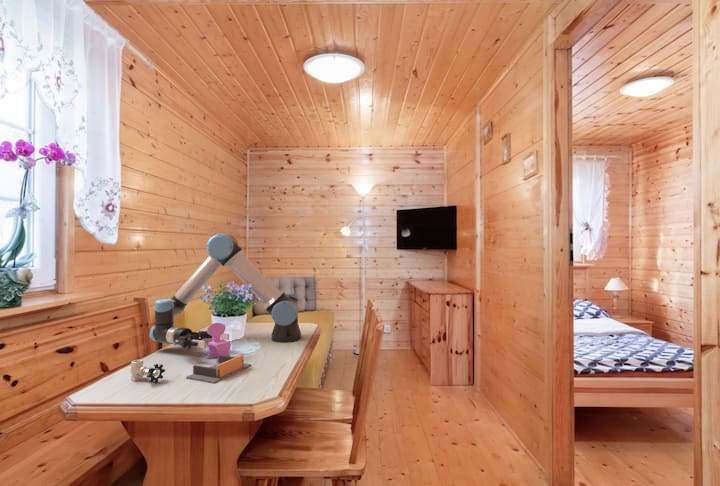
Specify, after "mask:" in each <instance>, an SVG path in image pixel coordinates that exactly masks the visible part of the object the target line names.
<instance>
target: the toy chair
mask: <svg viewBox="0 0 720 486" xmlns="http://www.w3.org/2000/svg"><path fill="white" fill-rule="evenodd" d="M226 328H227V326H226V325H225V324H224V323H221V322H214V323H211V324H210V325H209V326H208V327H207V329H206V331H207V333H208V334H209V335H211V336H212V338H211V339H212V341H208V343H207V348H208V354H207V356H206V360H209V359H212V358H216V357H217V359H216V360H217V361H216V363H217V364H218V363H219V356H220V355H221V356H228V357H231V355H230V352H231V351H230V350H231V347H232V345H231V341H229V340H224V339H220V336H221V335H222V334H223V333H225V331H226Z"/></svg>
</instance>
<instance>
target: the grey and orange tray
mask: <svg viewBox="0 0 720 486" xmlns="http://www.w3.org/2000/svg"><path fill="white" fill-rule="evenodd" d="M218 358H219V362H218V363H217V364H214V365H212V366H209V367H208V366H203V365H198V364H197V365H196V364H194V365H192V366H193V367H192V368H193V369H192V371H193V373H192V374H190V375H187V376H185V378H186V379H187V380H193V381H197V382H198V381H199V382H204V383H210V384H216V383H218V382H220V381H222V380H224V379H226V378H229V377H231V376H233V375H235V374H237V373H240V372H241V371H243V370H246V369H247V368H249V367H251V366H252V363H251V364H250V363H247V362H246V363H245V362H244V361H245V360H244V354H239V355H238V356H236V357H235V356H234V357H233V356H230V357H228V356H221V355H220V356H218Z"/></svg>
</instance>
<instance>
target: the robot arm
mask: <svg viewBox="0 0 720 486" xmlns="http://www.w3.org/2000/svg"><path fill="white" fill-rule="evenodd" d="M206 252H207V253H208V256H207V258H206V259H205V260H204V261H203V262H202V263H201V264H200V265H199V266H198V268H197V269H196V270H195V271H194V272H193V273H192V274H191V275H190V277H189V278H188V279H187V280H186V281H185V283H183V285H182V286H180V288H179V289H177V291H176V293H174V295H173V296H172V297H171V298H161V299H157V300H156V301H155V302H154V326H152V327H151V329H150V332H149V335H148V336H149V338H150V340H152V341H154V342H155V343H156V342H157V343H164V344H170V345H172V344H173V345H174V346H177V345H178V346H180V347H182V348H184V349H185V348H187V349H192V347H193V348H198V349H199V348H200V349H205V348H206V341H205V340H206V339H207V340H208V339H213V338H212V336H211V335H209V334H208V333H207V330H205V331H204V330H203V331H202V330H199V331H192V329H191V328H189V327H180V326H174V323H175V322H174V321H175V319H174V317H176V316H177V315H179V314H181V313H182V312H183V311H184V310H185V309H186V306H187V305H188V304H189V303H190V302H191V301H192V299H193V298H194V297H195V296H196V295H197V294H198V293H199V291H200V290H201V289H202V288H203V287H204V286H205V285H206V283H207V282H209V280H210V279H211V278H212V277H213V276H214V275H215V273H216V272H217V271H218V270H219V269H220V268H221V267H222V266H223V268H229V269H230V270H231V272H233V273H234V274H235V276H237V278H239V280H240V281H241V282H243V284H245V285H246V284H254V285H253V287H252V290H251V292H252V293H253V294H255V296H256V297H257V298H258V299H259V300H260V301H261V302H262V303H263V304H264V310H265V311H266V312H267V313H268V314H269V315H270V316H271V318H272V320H273V322H274V326H273V329H272V332H271V340H272V342H277V343H290V342H296V341H299V340H301V339H302V332H301V328H300V326H299V321H298V320H299V316H298V315H299V298H298V294H297V293H285V291H279V290H278V289H277V288H276V287H275V286H274V285H273V284H272V283H271V282H270V281H269V280H268V279H267V278H266V276H264V275H263V274H262V273H261V272H260V271H259V270H258V268H257V267H256V266H255V265H254V264H252V262H251V261H250V260H249V259H248V258H247V257H246V256H245V255H244V249H243V248H242V247H241V246H240V245H239V243H238V240H237V239H236V238H235V237H234V236H232V235H230V234H226V233H217V234H215V235H213V236H211V237H210V238H209V239H208V241H207V243H206ZM202 286H203V287H202ZM221 339H224V340H226V341H229V340H230V334H229V333H227V332H224V333H223V334H222V335H221V336H220V340H221Z"/></svg>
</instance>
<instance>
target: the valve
mask: <svg viewBox="0 0 720 486" xmlns="http://www.w3.org/2000/svg"><path fill="white" fill-rule="evenodd" d="M153 366H154V367H149V369H148V367H147V366H144V360H143V359H134V360H132V361H131V362H130V367H131V368H130V370H129V371H130V381H132V382H133V381H140V380H143V379H144V376H146V378H148V379H149V378H150V379H149V380H148V382H149V383H155V384H157V383H159V379H161V380H162V379H163V378H164V376H163V373H165V371H166V369H164V368H163V367H164V365H163V364H162V363H160V364H158V363H154V364H153Z"/></svg>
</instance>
